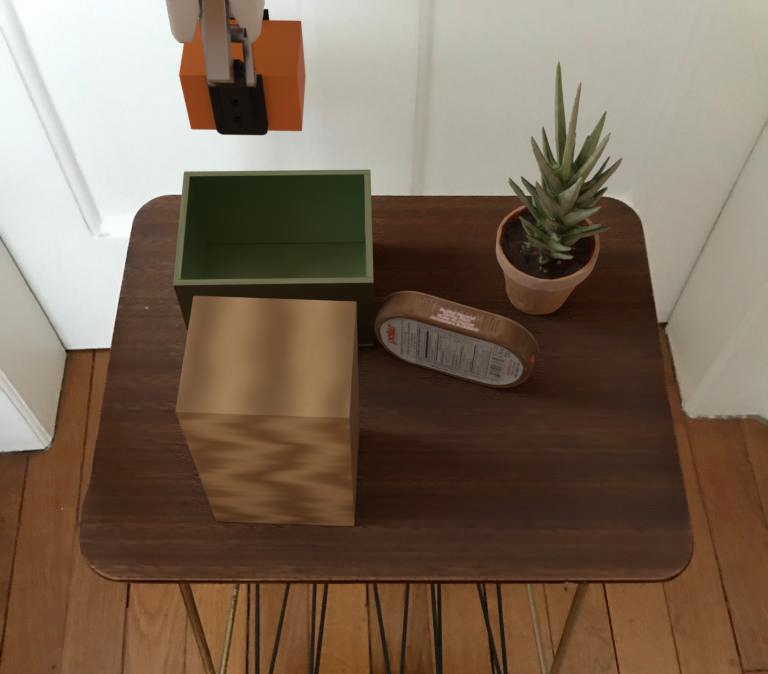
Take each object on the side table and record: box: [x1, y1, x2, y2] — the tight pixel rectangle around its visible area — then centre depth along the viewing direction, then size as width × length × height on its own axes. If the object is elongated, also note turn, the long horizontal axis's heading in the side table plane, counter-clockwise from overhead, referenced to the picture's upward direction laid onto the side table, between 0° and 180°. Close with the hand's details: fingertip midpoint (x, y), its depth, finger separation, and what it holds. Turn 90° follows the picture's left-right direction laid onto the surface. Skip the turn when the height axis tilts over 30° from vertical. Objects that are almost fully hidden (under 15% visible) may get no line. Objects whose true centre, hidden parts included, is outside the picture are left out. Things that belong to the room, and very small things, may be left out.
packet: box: [178, 19, 307, 132], centre depth 56 cm, size 7×5×4 cm
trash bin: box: [172, 169, 375, 349], centre depth 84 cm, size 13×17×10 cm
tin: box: [374, 290, 540, 389], centre depth 81 cm, size 15×3×8 cm, turn 71°
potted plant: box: [495, 60, 623, 316], centre depth 78 cm, size 10×10×25 cm
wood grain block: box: [174, 296, 361, 527], centre depth 72 cm, size 12×10×18 cm
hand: (246, 96), depth 57 cm, fingers closed on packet, 5 cm apart
